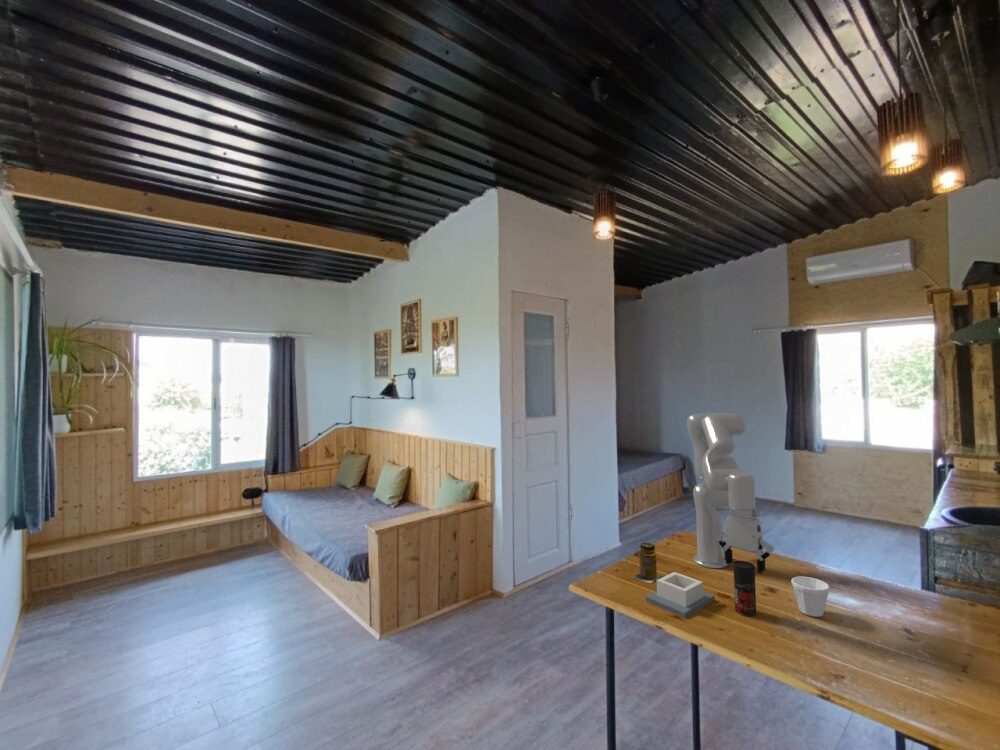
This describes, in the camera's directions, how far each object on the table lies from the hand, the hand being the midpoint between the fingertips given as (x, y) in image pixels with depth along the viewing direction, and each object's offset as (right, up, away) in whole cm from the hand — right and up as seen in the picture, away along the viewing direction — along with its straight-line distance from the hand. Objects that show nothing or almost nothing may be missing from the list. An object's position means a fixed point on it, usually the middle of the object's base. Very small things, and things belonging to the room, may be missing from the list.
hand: (744, 567), depth 142 cm
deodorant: (0, -14, 0) cm, 14 cm away
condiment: (-22, -16, +27) cm, 38 cm away
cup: (+20, -14, -1) cm, 25 cm away
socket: (-17, -15, +9) cm, 24 cm away
